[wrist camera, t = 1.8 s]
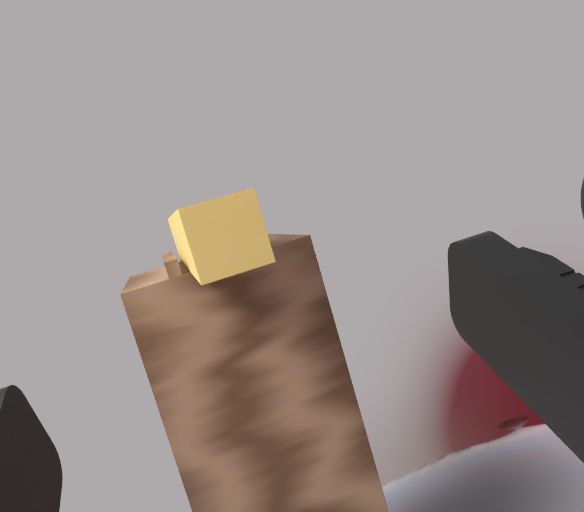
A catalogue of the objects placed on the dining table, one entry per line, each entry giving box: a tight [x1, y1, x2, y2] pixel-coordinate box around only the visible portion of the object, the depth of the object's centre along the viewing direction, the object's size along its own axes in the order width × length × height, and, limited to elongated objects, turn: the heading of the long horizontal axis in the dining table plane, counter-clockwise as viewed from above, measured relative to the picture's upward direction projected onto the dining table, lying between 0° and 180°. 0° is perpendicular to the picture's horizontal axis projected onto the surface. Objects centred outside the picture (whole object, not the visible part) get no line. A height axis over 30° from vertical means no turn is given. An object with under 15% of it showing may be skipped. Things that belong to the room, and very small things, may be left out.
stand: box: [121, 234, 389, 512], centre depth 40 cm, size 12×12×33 cm
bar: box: [168, 188, 276, 285], centre depth 34 cm, size 4×20×4 cm, turn 15°
